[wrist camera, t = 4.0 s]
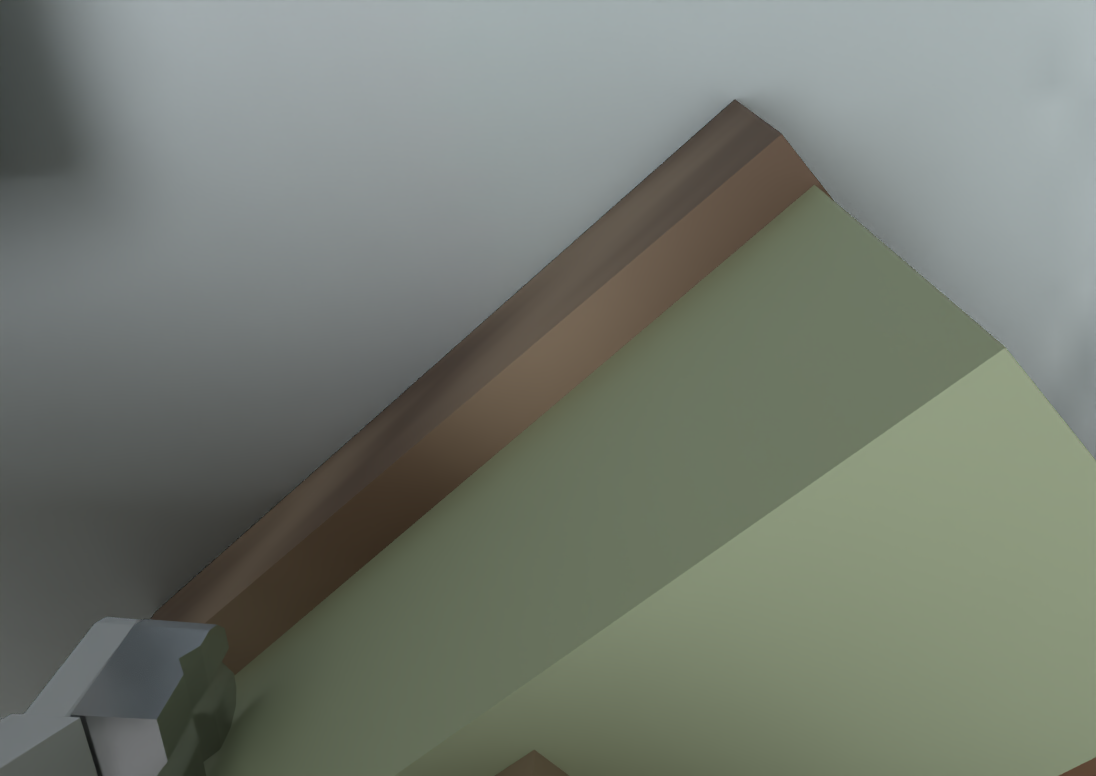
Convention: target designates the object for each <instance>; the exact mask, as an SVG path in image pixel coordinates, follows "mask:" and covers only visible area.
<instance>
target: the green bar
mask: <svg viewBox="0 0 1096 776" xmlns="http://www.w3.org/2000/svg"><path fill="white" fill-rule="evenodd" d="M234 677H235V683H236V708H235V712H234V716H233V720H232V725H231V728H230V730H229V732H228V734H227V737H226V739H225V741H224V743H223V745H222V747H221V749H220V750H219V751H218V752H216V753H215V754H214V755H212V756H211V757H210V758H208V759H207V760H206V761H204V762H203V763H204V767H205V772H206V776H1059V775H1061V774H1063V773H1065V772H1067V771H1069V770H1071V769H1073V768H1075V767H1077V766H1079V765H1081V764H1083V763H1085V762H1087V761H1089V760H1091V759H1093V758H1095V757H1096V460H1095V459H1094V458H1093V456H1092V455H1091V454H1090V453H1089V451H1088V450H1087V449H1086V448H1085V446H1084V445H1083V444H1082V443H1081V441H1080V440H1079V439H1078V438H1077V436H1076V435H1075V434H1074V433H1073V431H1072V430H1071V429H1070V428H1069V426H1068V425H1067V424H1066V423H1065V421H1064V420H1063V419H1062V418H1061V416H1060V415H1059V414H1058V413H1057V411H1056V410H1055V409H1054V408H1053V406H1052V405H1051V404H1050V403H1049V401H1048V400H1047V399H1046V398H1045V396H1044V395H1043V394H1042V393H1041V391H1040V390H1039V389H1038V388H1037V386H1036V385H1035V384H1034V383H1033V381H1032V380H1031V379H1030V378H1029V376H1028V375H1027V374H1026V373H1025V371H1024V370H1023V369H1022V368H1021V366H1020V365H1019V364H1018V363H1017V361H1016V360H1015V359H1014V358H1013V356H1012V355H1011V354H1010V353H1009V351H1008V350H1007V349H1006V348H1005V347H1004V346H1003V345H1002V344H1001V343H1000V342H998V341H997V340H996V339H995V338H994V337H993V336H991V335H990V334H989V333H988V332H987V331H986V330H984V329H983V328H982V327H981V326H980V325H978V324H977V323H976V322H975V321H974V320H973V319H971V318H970V317H969V316H968V315H967V314H966V313H964V312H963V311H962V310H961V309H960V308H959V307H957V306H956V305H955V304H954V303H953V302H952V301H950V300H949V299H948V298H947V297H946V296H944V295H943V294H942V293H941V292H940V291H939V290H937V289H936V288H935V287H934V286H933V285H932V284H930V283H929V282H928V281H927V280H926V279H925V278H923V277H922V276H921V275H920V274H919V273H918V272H916V271H915V270H914V269H913V268H912V267H910V266H909V265H908V264H907V263H906V262H905V261H903V260H902V259H901V258H900V257H899V256H898V255H896V254H895V253H894V252H893V251H892V250H891V249H889V248H888V247H887V246H886V245H885V244H884V243H882V242H881V241H880V240H879V239H878V238H876V237H875V236H874V235H873V234H872V233H871V232H869V231H868V230H867V229H866V228H865V227H864V226H862V225H861V224H860V223H859V222H858V221H857V220H855V219H854V218H853V217H852V216H851V215H850V214H848V213H847V212H846V211H845V210H844V209H842V208H841V207H840V206H839V205H838V204H837V203H835V202H834V201H833V200H832V199H831V198H830V197H828V196H827V195H826V194H825V193H824V192H823V191H821V190H820V189H819V188H818V187H817V186H816V185H813V186H812V187H811V188H810V189H809V190H808V191H806V192H805V193H804V194H803V195H802V196H800V197H799V198H798V199H797V200H796V201H795V202H793V203H792V204H791V205H790V206H789V207H787V208H786V209H785V210H784V211H783V212H782V213H780V214H779V215H778V216H777V217H776V218H774V219H773V220H772V221H771V222H770V223H769V224H767V225H766V226H765V227H764V228H763V229H761V230H760V231H759V232H758V233H757V234H756V235H754V236H753V237H752V238H751V239H750V240H749V241H747V242H746V243H745V244H744V245H743V246H741V247H740V248H739V249H738V250H737V251H736V252H734V253H733V254H732V255H731V256H730V257H728V258H727V259H726V260H725V261H724V262H723V263H721V264H720V265H719V266H718V267H717V268H715V269H714V270H713V271H712V272H711V273H710V274H708V275H707V276H706V277H705V278H704V279H702V280H701V281H700V282H699V283H698V284H697V285H695V286H694V287H693V288H692V289H691V290H689V291H688V292H687V293H686V294H685V295H684V296H682V297H681V298H680V299H679V300H678V301H676V302H675V303H674V304H673V305H672V306H671V307H669V308H668V309H667V310H666V311H665V312H663V313H662V314H661V315H660V316H659V317H658V318H656V319H655V320H654V321H653V322H652V323H650V324H649V325H648V326H647V327H646V328H645V329H643V330H642V331H641V332H640V333H639V334H637V335H636V336H635V337H634V338H633V339H632V340H630V341H629V342H628V343H627V344H626V345H624V346H623V347H622V348H621V349H620V350H619V351H617V352H616V353H615V354H614V355H613V356H611V357H610V358H609V359H608V360H607V361H606V362H604V363H603V364H602V365H601V366H600V367H598V368H597V369H596V370H595V371H594V372H593V373H591V374H590V375H589V376H588V377H587V378H585V379H584V380H583V381H582V382H581V383H580V384H578V385H577V386H576V387H575V388H574V389H572V390H571V391H570V392H569V393H568V394H567V395H565V396H564V397H563V398H562V399H561V400H559V401H558V402H557V403H556V404H555V405H554V406H552V407H551V408H550V409H549V410H548V411H546V412H545V413H544V414H543V415H542V416H541V417H539V418H538V419H537V420H536V421H535V422H534V423H532V424H531V425H530V426H529V427H528V428H526V429H525V430H524V431H523V432H522V433H521V434H519V435H518V436H517V437H516V438H515V439H513V440H512V441H511V442H510V443H509V444H508V445H506V446H505V447H504V448H503V449H502V450H500V451H499V452H498V453H497V454H496V455H495V456H493V457H492V458H491V459H490V460H489V461H487V462H486V463H485V464H484V465H483V466H482V467H480V468H479V469H478V470H477V471H476V472H474V473H473V474H472V475H471V476H470V477H469V478H467V479H466V480H465V481H464V482H463V483H461V484H460V485H459V486H458V487H457V488H456V489H454V490H453V491H452V492H451V493H450V494H448V495H447V496H446V497H445V498H444V499H443V500H441V501H440V502H439V503H438V504H437V505H435V506H434V507H433V508H432V509H431V510H430V511H428V512H427V513H426V514H425V515H424V516H422V517H421V518H420V519H419V520H418V521H417V522H415V523H414V524H413V525H412V526H411V527H409V528H408V529H407V530H406V531H405V532H404V533H402V534H401V535H400V536H399V537H398V538H396V539H395V540H394V541H393V542H392V543H391V544H389V545H388V546H387V547H386V548H385V549H383V550H382V551H381V552H380V553H379V554H378V555H376V556H375V557H374V558H373V559H372V560H370V561H369V562H368V563H367V564H366V565H365V566H363V567H362V568H361V569H360V570H359V571H357V572H356V573H355V574H354V575H353V576H352V577H350V578H349V579H348V580H347V581H346V582H344V583H343V584H342V585H341V586H340V587H339V588H337V589H336V590H335V591H334V592H333V593H331V594H330V595H329V596H328V597H327V598H326V599H324V600H323V601H322V602H321V603H320V604H318V605H317V606H316V607H315V608H314V609H313V610H311V611H310V612H309V613H308V614H307V615H306V616H304V617H303V618H302V619H301V620H300V621H298V622H297V623H296V624H295V625H294V626H293V627H291V628H290V629H289V630H288V631H287V632H285V633H284V634H283V635H282V636H281V637H280V638H278V639H277V640H276V641H275V642H274V643H272V644H271V645H270V646H269V647H268V648H267V649H265V650H264V651H263V652H262V653H261V654H259V655H258V656H257V657H256V658H255V659H254V660H252V661H251V662H250V663H249V664H248V665H246V666H245V667H244V668H243V669H242V670H241V671H239V672H238V673H237V674H236V675H235V676H234Z"/></svg>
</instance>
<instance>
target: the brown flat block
mask: <svg viewBox="0 0 1096 776" xmlns="http://www.w3.org/2000/svg"><path fill="white" fill-rule="evenodd" d="M813 185H816V186H817V187H818V188H819V189H820V190H821V191H823V192H824V193H825V194H826V195H827V196H828V197H830V195H829V194H828V193H827V191H826V190H825V189H824V188H823V186H822V185H821V184H820V182H819V181H818V180H817V179H816V177H815V176H814V175H813V173H812V172H811V171H810V170H809V168H808V167H807V166H806V164H805V163H804V162H803V161H802V159H801V158H800V157H799V155H798V154H797V153H796V152H795V150H794V149H793V148H792V147H791V145H790V144H789V143H788V141H787V140H786V139H785V138H784V136H783V135H782V134H781V133H780V132H778V131H777V130H776V129H774V128H773V127H772V126H770V125H769V124H768V123H766V122H765V121H763V120H762V119H761V118H759V117H758V116H757V115H755V114H754V113H753V112H751V111H750V110H749V109H747V108H746V107H744V106H743V105H742V104H740V103H739V102H738V101H736V100H734V101H733V102H731V103H730V104H729V105H728V106H727V107H726V108H725V109H724V110H722V111H721V112H720V113H719V114H718V115H717V116H716V117H714V118H713V119H712V120H711V121H710V122H709V123H708V124H707V125H705V126H704V127H703V128H702V129H701V130H700V131H699V132H698V133H696V134H695V135H694V136H693V137H692V138H691V139H690V140H688V141H687V142H686V143H685V144H684V145H683V146H682V147H681V148H679V149H678V150H677V151H676V152H675V153H674V154H673V155H672V156H670V157H669V158H668V159H667V160H666V161H665V162H664V163H662V164H661V165H660V166H659V167H658V168H657V169H656V170H655V171H653V172H652V173H651V174H650V175H649V176H648V177H647V178H646V179H644V180H643V181H642V182H641V183H640V184H639V185H638V186H636V187H635V188H634V189H633V190H632V191H631V192H630V193H629V194H627V195H626V196H625V197H624V198H623V199H622V200H621V201H620V202H618V203H617V204H616V205H615V206H614V207H613V208H612V209H610V210H609V211H608V212H607V213H606V214H605V215H604V216H603V217H601V218H600V219H599V220H598V221H597V222H596V223H595V224H594V225H592V226H591V227H590V228H589V229H588V230H587V231H586V232H584V233H583V234H582V235H581V236H580V237H579V238H578V239H577V240H575V241H574V242H573V243H572V244H571V245H570V246H569V247H568V248H566V249H565V250H564V251H563V252H562V253H561V254H560V255H558V256H557V257H556V258H555V259H554V260H553V261H552V262H551V263H549V264H548V265H547V266H546V267H545V268H544V269H543V270H542V271H540V272H539V273H538V274H537V275H536V276H535V277H534V278H532V279H531V280H530V281H529V282H528V283H527V284H526V285H525V286H523V287H522V288H521V289H520V290H519V291H518V292H517V293H516V294H514V295H513V296H512V297H511V298H510V299H509V300H508V301H506V302H505V303H504V304H503V305H502V306H501V307H500V308H499V309H497V310H496V311H495V312H494V313H493V314H492V315H491V316H490V317H488V318H487V319H486V320H485V321H484V322H483V323H482V324H480V325H479V326H478V327H477V328H476V329H475V330H474V331H473V332H471V333H470V334H469V335H468V336H467V337H466V338H465V339H464V340H462V341H461V342H460V343H459V344H458V345H457V346H456V347H454V348H453V349H452V350H451V351H450V352H449V353H448V354H447V355H445V356H444V357H443V358H442V359H441V360H440V361H439V362H438V363H436V364H435V365H434V366H433V367H432V368H431V369H430V370H428V371H427V372H426V373H425V374H424V375H423V376H422V377H421V378H419V379H418V380H417V381H416V382H415V383H414V384H413V385H412V386H410V387H409V388H408V389H407V390H406V391H405V392H404V393H402V394H401V395H400V396H399V397H398V398H397V399H396V400H395V401H393V402H392V403H391V404H390V405H389V406H388V407H387V408H386V409H384V410H383V411H382V412H381V413H380V414H379V415H378V416H376V417H375V418H374V419H373V420H372V421H371V422H370V423H369V424H367V425H366V426H365V427H364V428H363V429H362V430H361V431H360V432H358V433H357V434H356V435H355V436H354V437H353V438H352V439H350V440H349V441H348V442H347V443H346V444H345V445H344V446H343V447H341V448H340V449H339V450H338V451H337V452H336V453H335V454H334V455H332V456H331V457H330V458H329V459H328V460H327V461H326V462H324V463H323V464H322V465H321V466H320V467H319V468H318V469H317V470H315V471H314V472H313V473H312V474H311V475H310V476H309V477H308V478H306V479H305V480H304V481H303V482H302V483H301V484H300V485H298V486H297V487H296V488H295V489H294V490H293V491H292V492H291V493H289V494H288V495H287V496H286V497H285V498H284V499H283V500H282V501H280V502H279V503H278V504H277V505H276V506H275V507H274V508H272V509H271V510H270V511H269V512H268V513H267V514H266V515H265V516H263V517H262V518H261V519H260V520H259V521H258V522H257V523H256V524H254V525H253V526H252V527H251V528H250V529H249V530H248V531H246V532H245V533H244V534H243V535H242V536H241V537H240V538H239V539H237V540H236V541H235V542H234V543H233V544H232V545H231V546H230V547H228V548H227V549H226V550H225V551H224V552H223V553H222V554H221V555H219V556H218V557H217V558H216V559H215V560H214V561H213V562H211V563H210V564H209V565H208V566H207V567H206V568H205V569H204V570H202V571H201V572H200V573H199V574H198V575H197V576H196V577H195V578H193V579H192V580H191V581H190V582H189V583H188V584H187V585H185V586H184V587H183V588H182V589H181V590H180V591H179V592H178V593H176V594H175V595H174V596H173V597H172V598H171V599H170V600H169V601H167V602H166V603H165V604H164V605H163V606H162V607H161V608H159V609H158V610H157V611H156V612H155V613H154V615H153V616H152V618H151V619H152V620H165V621H178V622H190V623H203V624H216V625H219V626H221V627H223V628H225V632H226V636H227V640H228V645H229V649H228V651H227V653H226V655H225V656H224V658H223V660H222V662H223V663H224V664H225V665H226V666H227V667H228V668H229V669H230V670H231V671H232V672H233V673H234V676H235V675H236V674H237V673H238V672H239V671H241V670H242V669H243V668H244V667H245V666H246V665H248V664H249V663H250V662H251V661H252V660H254V659H255V658H256V657H257V656H258V655H259V654H261V653H262V652H263V651H264V650H265V649H267V648H268V647H269V646H270V645H271V644H272V643H274V642H275V641H276V640H277V639H278V638H280V637H281V636H282V635H283V634H284V633H285V632H287V631H288V630H289V629H290V628H291V627H293V626H294V625H295V624H296V623H297V622H298V621H300V620H301V619H302V618H303V617H304V616H306V615H307V614H308V613H309V612H310V611H311V610H313V609H314V608H315V607H316V606H317V605H318V604H320V603H321V602H322V601H323V600H324V599H326V598H327V597H328V596H329V595H330V594H331V593H333V592H334V591H335V590H336V589H337V588H339V587H340V586H341V585H342V584H343V583H344V582H346V581H347V580H348V579H349V578H350V577H352V576H353V575H354V574H355V573H356V572H357V571H359V570H360V569H361V568H362V567H363V566H365V565H366V564H367V563H368V562H369V561H370V560H372V559H373V558H374V557H375V556H376V555H378V554H379V553H380V552H381V551H382V550H383V549H385V548H386V547H387V546H388V545H389V544H391V543H392V542H393V541H394V540H395V539H396V538H398V537H399V536H400V535H401V534H402V533H404V532H405V531H406V530H407V529H408V528H409V527H411V526H412V525H413V524H414V523H415V522H417V521H418V520H419V519H420V518H421V517H422V516H424V515H425V514H426V513H427V512H428V511H430V510H431V509H432V508H433V507H434V506H435V505H437V504H438V503H439V502H440V501H441V500H443V499H444V498H445V497H446V496H447V495H448V494H450V493H451V492H452V491H453V490H454V489H456V488H457V487H458V486H459V485H460V484H461V483H463V482H464V481H465V480H466V479H467V478H469V477H470V476H471V475H472V474H473V473H474V472H476V471H477V470H478V469H479V468H480V467H482V466H483V465H484V464H485V463H486V462H487V461H489V460H490V459H491V458H492V457H493V456H495V455H496V454H497V453H498V452H499V451H500V450H502V449H503V448H504V447H505V446H506V445H508V444H509V443H510V442H511V441H512V440H513V439H515V438H516V437H517V436H518V435H519V434H521V433H522V432H523V431H524V430H525V429H526V428H528V427H529V426H530V425H531V424H532V423H534V422H535V421H536V420H537V419H538V418H539V417H541V416H542V415H543V414H544V413H545V412H546V411H548V410H549V409H550V408H551V407H552V406H554V405H555V404H556V403H557V402H558V401H559V400H561V399H562V398H563V397H564V396H565V395H567V394H568V393H569V392H570V391H571V390H572V389H574V388H575V387H576V386H577V385H578V384H580V383H581V382H582V381H583V380H584V379H585V378H587V377H588V376H589V375H590V374H591V373H593V372H594V371H595V370H596V369H597V368H598V367H600V366H601V365H602V364H603V363H604V362H606V361H607V360H608V359H609V358H610V357H611V356H613V355H614V354H615V353H616V352H617V351H619V350H620V349H621V348H622V347H623V346H624V345H626V344H627V343H628V342H629V341H630V340H632V339H633V338H634V337H635V336H636V335H637V334H639V333H640V332H641V331H642V330H643V329H645V328H646V327H647V326H648V325H649V324H650V323H652V322H653V321H654V320H655V319H656V318H658V317H659V316H660V315H661V314H662V313H663V312H665V311H666V310H667V309H668V308H669V307H671V306H672V305H673V304H674V303H675V302H676V301H678V300H679V299H680V298H681V297H682V296H684V295H685V294H686V293H687V292H688V291H689V290H691V289H692V288H693V287H694V286H695V285H697V284H698V283H699V282H700V281H701V280H702V279H704V278H705V277H706V276H707V275H708V274H710V273H711V272H712V271H713V270H714V269H715V268H717V267H718V266H719V265H720V264H721V263H723V262H724V261H725V260H726V259H727V258H728V257H730V256H731V255H732V254H733V253H734V252H736V251H737V250H738V249H739V248H740V247H741V246H743V245H744V244H745V243H746V242H747V241H749V240H750V239H751V238H752V237H753V236H754V235H756V234H757V233H758V232H759V231H760V230H761V229H763V228H764V227H765V226H766V225H767V224H769V223H770V222H771V221H772V220H773V219H774V218H776V217H777V216H778V215H779V214H780V213H782V212H783V211H784V210H785V209H786V208H787V207H789V206H790V205H791V204H792V203H793V202H795V201H796V200H797V199H798V198H799V197H800V196H802V195H803V194H804V193H805V192H806V191H808V190H809V189H810V188H811V187H812V186H813ZM830 198H831V197H830ZM831 199H832V198H831ZM832 200H833V199H832ZM833 201H834V200H833Z"/></svg>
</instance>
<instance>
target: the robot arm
mask: <svg viewBox="0 0 1096 776" xmlns="http://www.w3.org/2000/svg"><path fill="white" fill-rule="evenodd" d="M228 649H229V645H228V640H227V636H226V632H225V628H223V627H221V626H219V625H216V624H203V623H190V622H178V621H165V620H152V619H143V620H139V619H127V618H116V617H105V618H103V619H101V620H99V621H98V622H96V623H95V624H94V625H93V626H92V627H91V628H90V630H89V631H88V632H87V633H86V635H85V636H84V637H83V639H82V640H81V641H80V642H79V644H78V645H77V646H76V648H75V649H74V650H73V651H72V653H71V654H70V655H69V657H68V658H67V659H66V660H65V662H64V663H63V664H62V666H61V667H60V668H59V669H58V671H57V672H56V673H55V675H54V676H53V677H52V678H51V680H50V681H49V682H48V684H47V685H46V686H45V687H44V689H43V690H42V691H41V693H40V694H39V695H38V696H37V698H36V699H35V700H34V701H33V703H32V704H31V705H30V707H29V708H28V709H27V710H26V712H25V713H24V714H10V715H8V716H7V717H5V718H3V719H1V720H0V776H206V772H205V767H204V763H203V762H204V761H206V760H207V759H208V758H210V757H211V756H212V755H214V754H215V753H216V752H218V751H219V750H220V749H221V747H222V745H223V743H224V741H225V739H226V737H227V734H228V732H229V730H230V728H231V725H232V720H233V716H234V712H235V708H236V683H235V677H234V673H233V672H232V671H231V670H230V669H229V668H228V667H227V666H226V665H225V664H224V663H223V662H222V660H223V658H224V656H225V655H226V653H227V651H228Z"/></svg>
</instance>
